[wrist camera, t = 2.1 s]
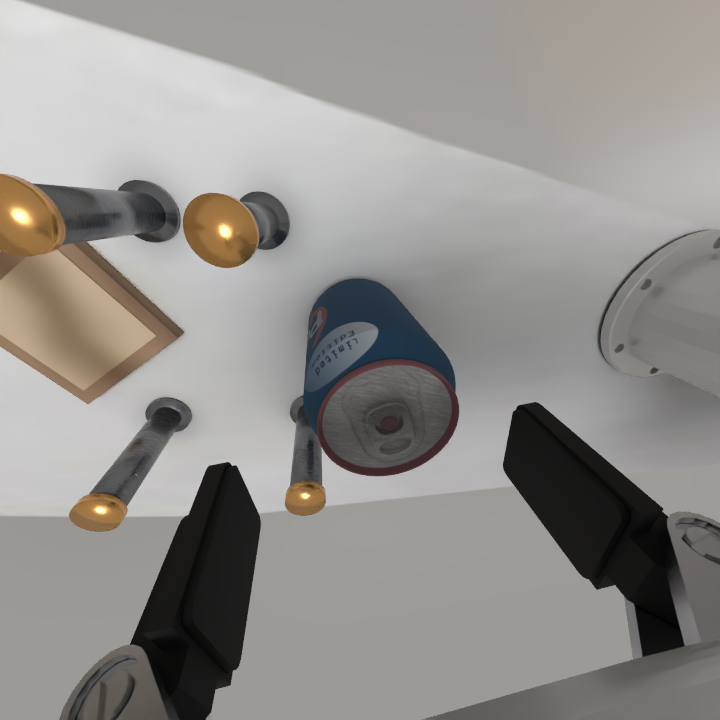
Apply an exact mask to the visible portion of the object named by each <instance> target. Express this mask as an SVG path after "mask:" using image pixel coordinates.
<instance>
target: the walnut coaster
mask: <svg viewBox="0 0 720 720" xmlns="http://www.w3.org/2000/svg"><path fill="white" fill-rule="evenodd" d="M183 333H184V332H183V331H182V330H181V329H180V328H179V327H178V326H176V325H175V324H174V323H173V322H172V321H171V320H170V319H169V318H168V317H167V316H166V315H165V314H163V313H162V312H161V311H160V310H159V309H158V308H157V307H156V306H155V305H154V304H153V303H151V302H150V301H149V300H148V299H147V298H146V297H145V296H144V295H143V294H142V293H141V292H140V291H138V290H137V289H136V288H135V287H134V286H133V285H132V284H131V283H130V282H129V281H128V280H127V279H125V278H124V277H123V276H122V275H121V274H120V273H119V272H118V271H117V270H116V269H115V268H114V267H112V266H111V265H110V264H109V263H108V262H107V261H106V260H105V259H104V258H103V257H102V256H100V255H99V254H98V253H97V252H96V251H95V250H94V249H93V248H92V247H91V246H90V245H89V244H87V243H86V242H79V243H72V244H65V245H62V246H61V247H60V248H59V249H57V250H56V251H54V252H51V253H48V254H42V255H36V256H29V257H22V256H15V255H11V254H8V253H5V252H2V251H1V252H0V347H2V348H3V349H5V350H6V351H8V352H9V353H11V354H13V355H14V356H16V357H17V358H19V359H20V360H22V361H23V362H25V363H26V364H28V365H29V366H31V367H32V368H34V369H35V370H37V371H38V372H40V373H41V374H43V375H44V376H46V377H47V378H49V379H50V380H52V381H53V382H55V383H57V384H58V385H60V386H61V387H63V388H64V389H66V390H67V391H69V392H70V393H72V394H73V395H75V396H76V397H78V398H79V399H81V400H82V401H84V402H85V403H87V404H89V403H91V402H92V401H93V400H95V399H96V398H97V397H99V396H100V395H101V394H103V393H104V392H106V391H107V390H108V389H110V388H111V387H112V386H114V385H115V384H116V383H118V382H119V381H120V380H122V379H123V378H124V377H126V376H127V375H129V374H130V373H131V372H133V371H134V370H135V369H137V368H138V367H139V366H141V365H142V364H143V363H145V362H146V361H147V360H149V359H150V358H152V357H153V356H154V355H156V354H157V353H158V352H160V351H161V350H162V349H164V348H165V347H166V346H168V345H169V344H170V343H172V342H173V341H174V340H176V339H177V338H178V337H179V336H181V335H182V334H183Z"/></svg>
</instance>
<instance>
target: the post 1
mask: <svg viewBox="0 0 720 720" xmlns="http://www.w3.org/2000/svg"><path fill="white" fill-rule="evenodd" d="M179 226H180V214H179V210H178V208H177V206H176V204H175V202H174V200H173V199H172V198H171V196H170V195H169V194H168V193H167V192H166V191H165V190H163V189H162V188H161V187H159V186H157V185H155V184H153V183H150V182H147V181H140V180H133V181H129V182H126V183H124V184H123V185H122V186H121V187H120V188H119V189H118V191H115V190H103V189H91V188H79V187H67V186H55V185H43V184H32V183H30V182H29V181H26V180H24V179H22V178H19V177H17V176H13V175H8V174H0V251H2V252H5V253H8V254H11V255H15V256H22V257H29V256H36V255H42V254H48V253H51V252H54V251H56V250H57V249H59V248H60V247H61V246H62V245H65V244H72V243H79V242H86V241H92V240H99V239H106V238H113V237H120V236H127V235H133V234H134V235H135V236H137V237H138V238H140V239H142V240H145V241H149V242H163V241H166V240H169V239H171V238H172V237H174V236H175V234H176V233H177V232H178V229H179Z"/></svg>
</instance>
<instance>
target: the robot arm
mask: <svg viewBox="0 0 720 720" xmlns="http://www.w3.org/2000/svg"><path fill="white" fill-rule="evenodd" d="M600 342H601V349H602V353H603V355H604V357H605V359H606V360H607V362H608V363H609V364H610V365H611V366H613V367H614V368H616V369H618V370H619V371H621V372H623V373H625V374H628V375H630V376H636V377H651V376H656V375H660V374H664V373H668V374H670V375H672V376H674V377H676V378H678V379H680V380H682V381H685V382H687V383H689V384H691V385H693V386H695V387H697V388H699V389H701V390H704V391H706V392H708V393H710V394H712V395H714V396H716V397H718V398H720V230H706V231H701V232H697V233H693V234H690V235H688V236H685V237H683V238H680V239H678V240H676V241H674V242H672V243H671V244H669V245H667V246H666V247H664V248H662V249H661V250H659V251H658V252H657V253H655V254H654V255H653V256H651V257H650V258H649V259H648V260H646V261H645V262H644V263H643V264H642V265H641V266H640V267H639V268H638V269H637V270H636V271H635V272H634V273H633V274H632V275H631V276H630V277H629V278H628V280H627V281H626V282H625V283H624V284H623V286H622V287H621V288H620V290H619V291H618V293H617V294H616V296H615V298H614V299H613V301H612V302H611V304H610V307H609V309H608V311H607V313H606V315H605V318H604V322H603V325H602V329H601V340H600ZM503 468H504V471H505V473H506V475H507V476H508V478H509V479H510V480H511V482H512V483H513V484H514V486H515V487H516V488H517V490H518V491H519V493H520V494H521V495H522V497H523V498H524V499H525V501H526V502H527V503H528V505H529V506H530V507H531V509H532V510H533V511H534V513H535V514H536V515H537V517H538V518H539V520H540V521H541V522H542V524H543V525H544V526H545V528H546V529H547V530H548V531H549V533H550V534H551V536H552V537H553V538H554V540H555V541H556V543H557V544H558V545H559V547H560V548H561V549H562V551H563V552H564V553H565V555H566V556H567V557H568V559H569V560H570V561H571V563H572V564H573V565H574V567H575V568H576V570H577V571H578V572H579V573H580V574H581V575H582V576H583V577H584V578H586V579H589V580H590V581H591V583H592V584H593V585H594V587H595V588H596V589H597V590H598V589H601V588H605V587H609V586H613V585H616V587H617V588H618V589H619V590H620V592H621V593H622V594H623V595H624V599H625V606H626V613H627V620H628V627H629V634H630V641H631V648H632V656H633V660H630V661H627V662H623V663H619V664H616V665H612V666H609V667H605V668H602V669H599V670H595V671H591V672H587V673H584V674H580V675H577V676H573V677H570V678H566V679H563V680H560V681H555V682H552V683H548V684H545V685H542V686H538V687H535V688H531V689H527V690H524V691H520V692H517V693H513V694H510V695H506V696H503V697H500V698H496V699H492V700H489V701H485V702H482V703H479V704H475V705H472V706H468V707H465V708H461V709H458V710H454V711H451V712H447V713H444V714H440V715H437V716H433V717H430V718H426V719H423V720H720V523H718V522H717V521H715V520H713V519H710V518H707V517H704V516H702V515H700V514H695V513H691V512H676V513H673V514H670V516H669V517H668V516H667V515H666V514H664V513H663V512H662V510H663V508H662V507H660V506H659V505H658V504H657V503H656V502H655V501H654V500H652V499H651V498H650V497H649V496H648V495H647V494H645V493H644V492H643V491H642V490H641V489H640V488H638V487H637V486H636V485H635V484H634V483H632V482H631V481H630V480H629V479H628V478H627V477H625V476H624V475H623V474H622V473H621V472H620V471H618V470H617V469H616V468H615V467H614V466H612V465H611V464H610V463H609V462H608V461H607V460H605V459H604V458H603V457H602V456H601V455H599V454H598V453H597V452H596V451H595V450H594V449H592V448H591V447H590V446H589V445H588V444H587V443H585V442H584V441H583V440H582V439H581V438H579V437H578V436H577V435H576V434H575V433H574V432H572V431H571V430H570V429H569V428H568V427H566V426H565V425H564V424H563V423H562V422H561V421H559V420H558V419H557V418H556V417H555V416H554V415H552V414H551V413H550V412H549V411H548V410H546V409H545V408H544V407H543V406H542V405H541V404H539V403H537V402H534V403H528V404H523V405H519V406H518V407H517V408H516V410H515V411H514V412H513V415H512V420H511V425H510V430H509V436H508V441H507V446H506V451H505V457H504V462H503ZM260 522H261V521H260V516H259V514H258V512H257V509H256V507H255V505H254V503H253V501H252V498H251V496H250V494H249V492H248V490H247V487H246V485H245V483H244V481H243V478H242V476H241V474H240V472H239V470H238V468H237V466H232V465H231V464H230V463H229V462H226V463H221V464H216V465H211V466H209V467H208V468H207V470H206V472H205V474H204V477H203V480H202V482H201V485H200V487H199V490H198V492H197V495H196V497H195V500H194V503H193V505H192V508H191V510H190V513H189V515H187V516H185V517H184V518H183V519H182V520H181V522H180V524H179V526H178V529H177V531H176V533H175V536H174V538H173V541H172V543H171V546H170V548H169V550H168V553H167V555H166V558H165V560H164V563H163V565H162V567H161V570H160V572H159V575H158V577H157V580H156V582H155V585H154V587H153V590H152V592H151V595H150V597H149V599H148V602H147V604H146V607H145V609H144V612H143V614H142V616H141V619H140V621H139V624H138V626H137V629H136V631H135V633H134V636H133V638H132V641H131V643H130V645H126V646H122V647H120V648H118V649H115V650H114V651H111V652H110V653H108V654H107V655H106V656H104V657H103V658H102V659H100V660H99V661H98V662H97V663H96V664H95V665H94V666H93V667H92V668H91V669H90V670H89V671H88V672H87V673H86V674H85V675H84V677H83V678H82V679H81V680H80V682H79V683H78V685H77V686H76V687H75V689H74V690H73V692H72V693H71V695H70V697H69V699H68V701H67V702H66V704H65V706H64V708H63V710H62V713H61V716H60V719H59V720H212V719H211V717H210V713H211V709H212V704H213V699H214V694H215V689H218V688H222V687H226V686H229V685H231V679H232V672H233V670H236V669H237V668H238V666H239V664H240V660H241V654H242V648H243V641H244V635H245V628H246V621H247V615H248V608H249V601H250V595H251V588H252V581H253V575H254V567H255V561H256V555H257V548H258V540H259V534H260V527H261V523H260Z"/></svg>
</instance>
